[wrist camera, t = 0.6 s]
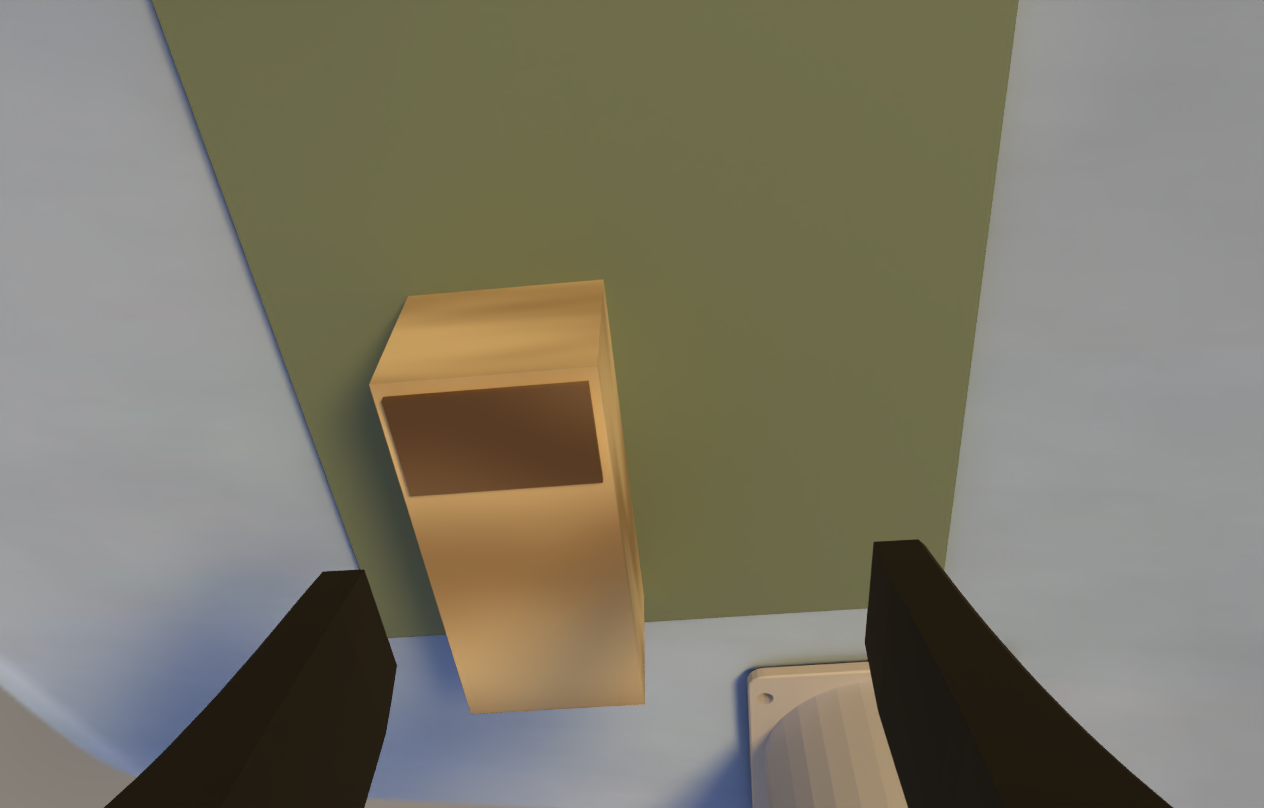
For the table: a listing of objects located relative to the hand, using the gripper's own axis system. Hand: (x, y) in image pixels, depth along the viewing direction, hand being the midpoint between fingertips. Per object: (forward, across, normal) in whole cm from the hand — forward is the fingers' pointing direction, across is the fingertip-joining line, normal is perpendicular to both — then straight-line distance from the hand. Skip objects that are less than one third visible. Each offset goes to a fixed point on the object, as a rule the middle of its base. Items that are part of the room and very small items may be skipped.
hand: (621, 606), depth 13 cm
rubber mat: (+10, 0, -2) cm, 10 cm away
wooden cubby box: (+9, +3, +4) cm, 10 cm away
